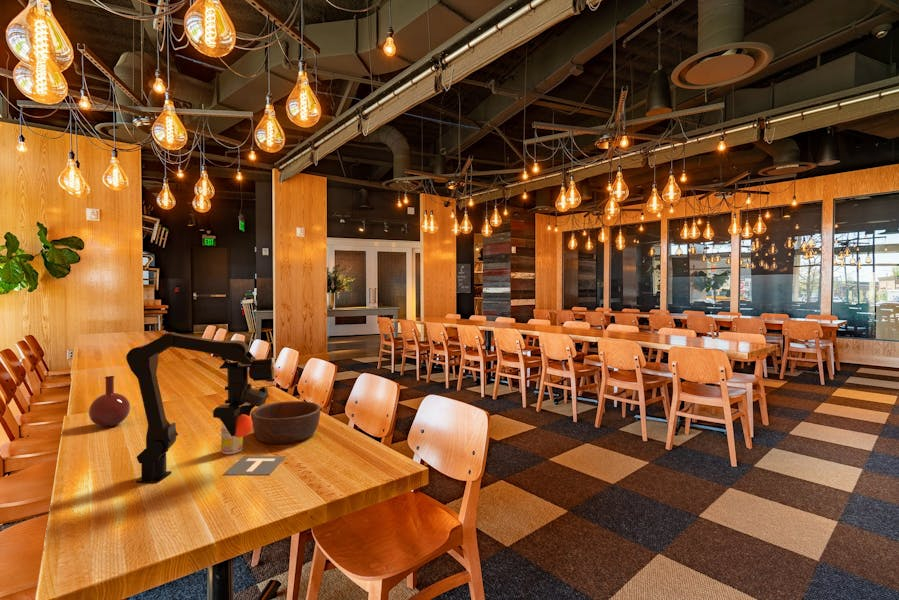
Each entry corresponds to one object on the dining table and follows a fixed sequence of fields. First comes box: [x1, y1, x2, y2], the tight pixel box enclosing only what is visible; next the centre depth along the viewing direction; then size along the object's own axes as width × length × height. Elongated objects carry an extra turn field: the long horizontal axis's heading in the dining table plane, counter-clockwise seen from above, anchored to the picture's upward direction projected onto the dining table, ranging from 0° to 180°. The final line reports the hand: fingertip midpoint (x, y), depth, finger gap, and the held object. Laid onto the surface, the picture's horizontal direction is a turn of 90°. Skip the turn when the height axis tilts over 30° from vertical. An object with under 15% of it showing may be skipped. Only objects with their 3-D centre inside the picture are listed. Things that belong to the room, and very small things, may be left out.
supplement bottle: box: [220, 423, 244, 455], centre depth 148 cm, size 7×7×13 cm
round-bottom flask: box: [88, 375, 131, 428], centre depth 173 cm, size 13×13×20 cm
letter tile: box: [222, 455, 287, 476], centre depth 137 cm, size 14×14×1 cm
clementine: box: [234, 414, 253, 438], centre depth 132 cm, size 8×7×7 cm
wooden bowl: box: [250, 400, 322, 445], centre depth 164 cm, size 25×25×10 cm
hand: (238, 431), depth 133 cm, fingers closed on clementine, 7 cm apart
